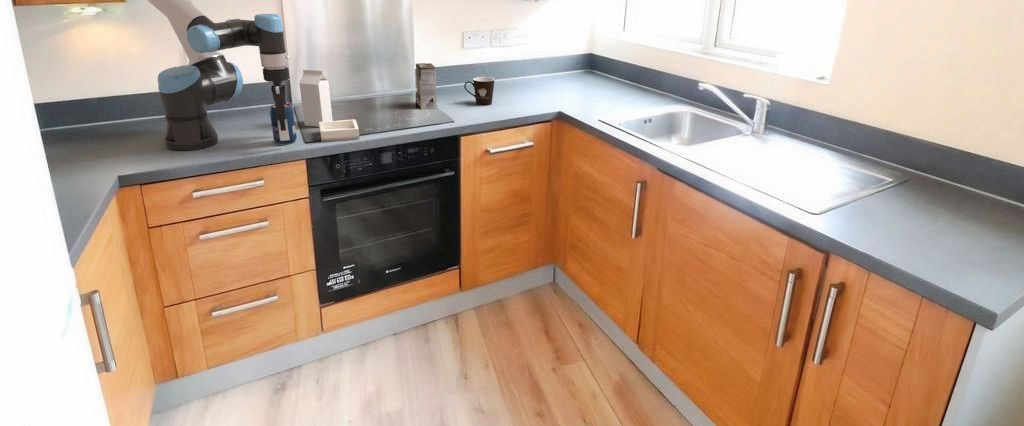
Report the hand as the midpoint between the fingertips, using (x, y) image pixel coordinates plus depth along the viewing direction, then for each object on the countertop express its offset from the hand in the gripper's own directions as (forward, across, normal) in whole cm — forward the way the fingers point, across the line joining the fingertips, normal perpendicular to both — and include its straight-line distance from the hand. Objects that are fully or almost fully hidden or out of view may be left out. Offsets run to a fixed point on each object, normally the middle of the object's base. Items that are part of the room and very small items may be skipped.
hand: (285, 134), depth 193 cm
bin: (+3, +3, -17) cm, 17 cm away
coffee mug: (+3, +34, -75) cm, 82 cm away
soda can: (+3, 0, 0) cm, 3 cm away
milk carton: (+3, +19, -11) cm, 22 cm away
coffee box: (+3, +35, -53) cm, 64 cm away
